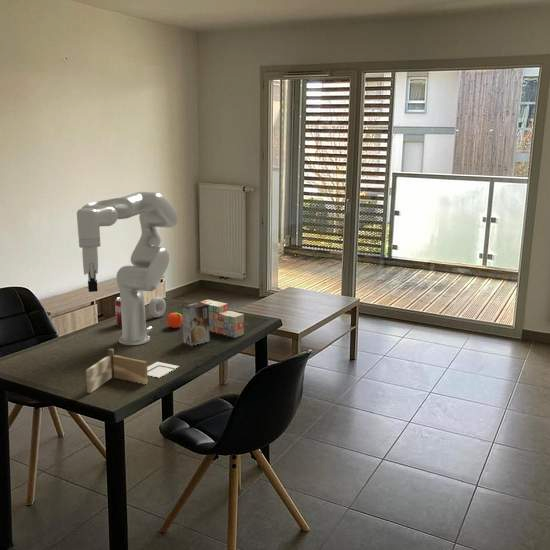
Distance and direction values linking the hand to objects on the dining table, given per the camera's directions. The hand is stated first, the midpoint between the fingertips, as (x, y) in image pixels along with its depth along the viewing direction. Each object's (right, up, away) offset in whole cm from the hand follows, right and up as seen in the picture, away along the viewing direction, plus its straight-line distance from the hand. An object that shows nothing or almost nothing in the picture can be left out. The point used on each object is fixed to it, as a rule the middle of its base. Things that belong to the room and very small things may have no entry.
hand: (93, 291), depth 233 cm
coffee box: (+35, -22, +26) cm, 49 cm away
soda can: (0, -17, +49) cm, 52 cm away
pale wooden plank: (+8, -32, -18) cm, 37 cm away
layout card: (+25, -29, -4) cm, 38 cm away
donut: (+13, -14, +60) cm, 63 cm away
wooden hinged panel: (+16, -31, -13) cm, 37 cm away
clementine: (+24, -18, +45) cm, 54 cm away
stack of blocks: (+44, -19, +40) cm, 62 cm away
